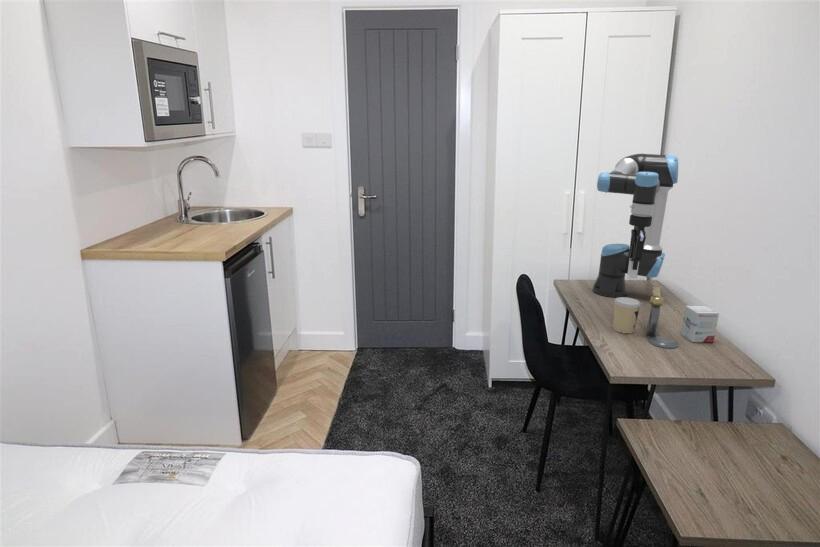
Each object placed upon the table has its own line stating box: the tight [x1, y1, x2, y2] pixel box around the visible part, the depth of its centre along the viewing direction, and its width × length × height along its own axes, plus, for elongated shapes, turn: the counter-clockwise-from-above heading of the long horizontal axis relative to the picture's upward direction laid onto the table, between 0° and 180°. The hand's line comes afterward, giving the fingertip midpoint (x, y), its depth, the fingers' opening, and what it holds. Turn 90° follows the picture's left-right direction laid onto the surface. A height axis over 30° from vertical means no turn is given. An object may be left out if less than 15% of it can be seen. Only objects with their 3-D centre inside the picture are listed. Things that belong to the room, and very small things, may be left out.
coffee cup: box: [612, 296, 641, 334], centre depth 210 cm, size 9×9×12 cm
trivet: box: [648, 335, 680, 350], centre depth 200 cm, size 10×10×1 cm
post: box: [645, 304, 662, 338], centre depth 205 cm, size 3×3×12 cm
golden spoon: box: [649, 286, 665, 307], centre depth 209 cm, size 4×18×3 cm, turn 158°
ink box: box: [680, 305, 720, 343], centre depth 205 cm, size 9×9×12 cm
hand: (631, 276), depth 206 cm, fingers open, 2 cm apart
